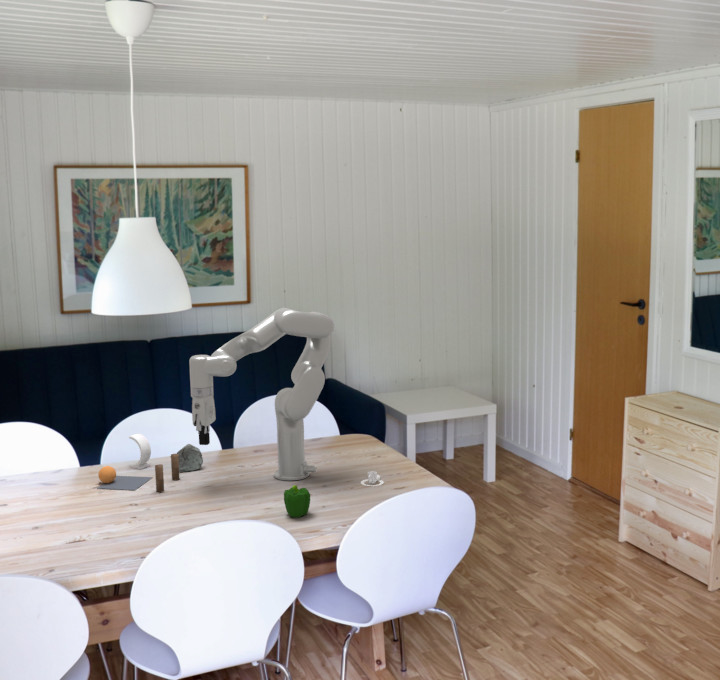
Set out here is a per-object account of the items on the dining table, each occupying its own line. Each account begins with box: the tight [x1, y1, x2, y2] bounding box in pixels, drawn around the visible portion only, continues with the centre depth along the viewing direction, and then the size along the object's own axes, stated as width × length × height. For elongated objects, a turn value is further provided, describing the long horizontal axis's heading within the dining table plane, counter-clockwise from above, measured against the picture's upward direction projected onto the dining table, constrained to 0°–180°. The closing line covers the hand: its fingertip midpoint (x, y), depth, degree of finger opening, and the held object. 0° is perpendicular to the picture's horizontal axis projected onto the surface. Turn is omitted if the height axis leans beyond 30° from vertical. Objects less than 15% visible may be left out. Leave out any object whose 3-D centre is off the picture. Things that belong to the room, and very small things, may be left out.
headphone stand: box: [128, 433, 152, 470], centre depth 304 cm, size 5×6×12 cm
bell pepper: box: [283, 484, 311, 518], centre depth 251 cm, size 8×8×10 cm
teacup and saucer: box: [360, 470, 385, 487], centre depth 282 cm, size 9×8×4 cm
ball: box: [97, 465, 117, 484], centre depth 286 cm, size 6×6×6 cm
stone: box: [176, 443, 204, 473], centre depth 301 cm, size 10×10×10 cm
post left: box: [154, 464, 165, 493], centre depth 276 cm, size 3×3×9 cm
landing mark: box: [96, 475, 154, 491], centre depth 285 cm, size 14×14×1 cm
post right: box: [170, 453, 180, 481], centre depth 288 cm, size 3×3×9 cm
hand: (204, 444), depth 278 cm, fingers closed
